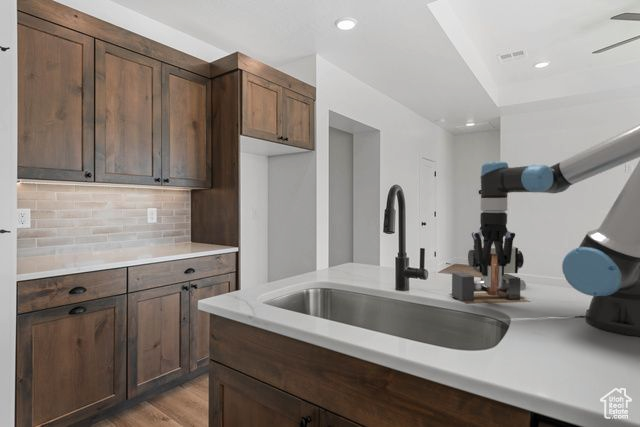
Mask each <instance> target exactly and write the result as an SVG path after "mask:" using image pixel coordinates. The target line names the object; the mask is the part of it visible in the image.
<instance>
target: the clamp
mask: <svg viewBox="0 0 640 427" xmlns="http://www.w3.org/2000/svg"><path fill="white" fill-rule="evenodd" d="M502 280H506V291H497V295H498V296H500V297H503V298H505V299H507V300H520V298H521V291H520V280H521V277H518V276H515V275H511V274H510V273H504V275H503V276H502Z"/></svg>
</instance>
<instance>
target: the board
mask: <svg viewBox="0 0 640 427" xmlns="http://www.w3.org/2000/svg"><path fill="white" fill-rule="evenodd" d="M449 295H450V296H451V297H453V298H455V297H454V296H452V293H449ZM459 301H461V300H459ZM461 302H462V303H464V304H465V305H467V304H470V305H471V304H500V303H501V304H505V303H531V301H530V300H528V299H525V298H523V297H520V300H507V299H505V298H503V297H500V296H498V295H496V296H492V295H488V293H487V292H474V301H461Z"/></svg>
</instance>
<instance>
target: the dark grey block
mask: <svg viewBox="0 0 640 427" xmlns="http://www.w3.org/2000/svg"><path fill="white" fill-rule="evenodd" d="M451 275H452V276H451V294H452V296H451V297H453V296H454V297H453V298H454V299H457V300H459V301H460V300H461V302H462V301H474V293H475V292H474V281H475V276H473V275H471V274H468V273H466V272H464V271H463V272H451Z"/></svg>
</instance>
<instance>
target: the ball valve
mask: <svg viewBox="0 0 640 427" xmlns="http://www.w3.org/2000/svg"><path fill="white" fill-rule="evenodd" d="M483 246H484V244H482V252H483ZM503 250H504V245H503ZM491 253H496V251H495V244H494V242H493V244H492V246H491ZM467 262H468V265H469V267H470V268H473V270H474V271H476V272H478V273H479V274H482V265H481V264H479V263H476V261H475V249H474V248H472V249H469V251H468V253H467ZM524 262H525V261H524V254H523V252H522V251H521V250H519V248H518V247H515V246H512V253H511V262H510V264H507V265H506V266H504V274H518V273H519V272H518V270H519V269H521V268H523V265H524ZM479 281H484V276H481V277H480V280H479Z"/></svg>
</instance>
